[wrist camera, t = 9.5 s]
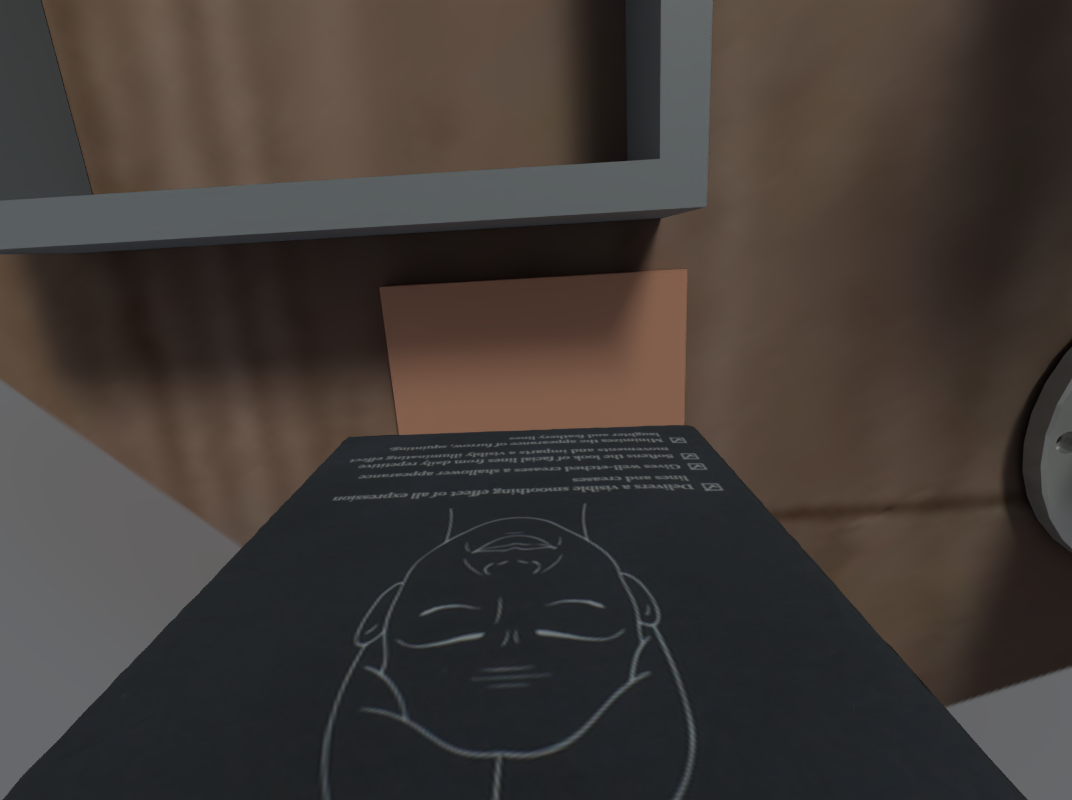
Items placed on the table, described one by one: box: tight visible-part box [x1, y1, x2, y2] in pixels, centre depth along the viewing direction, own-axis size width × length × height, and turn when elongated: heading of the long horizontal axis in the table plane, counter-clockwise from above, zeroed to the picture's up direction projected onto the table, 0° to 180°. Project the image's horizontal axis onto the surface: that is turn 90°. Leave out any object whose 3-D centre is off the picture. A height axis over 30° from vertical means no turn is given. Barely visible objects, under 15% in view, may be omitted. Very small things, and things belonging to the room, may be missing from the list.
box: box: [3, 425, 1027, 800], centre depth 7 cm, size 8×6×11 cm
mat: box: [379, 269, 687, 435], centre depth 21 cm, size 11×11×1 cm
